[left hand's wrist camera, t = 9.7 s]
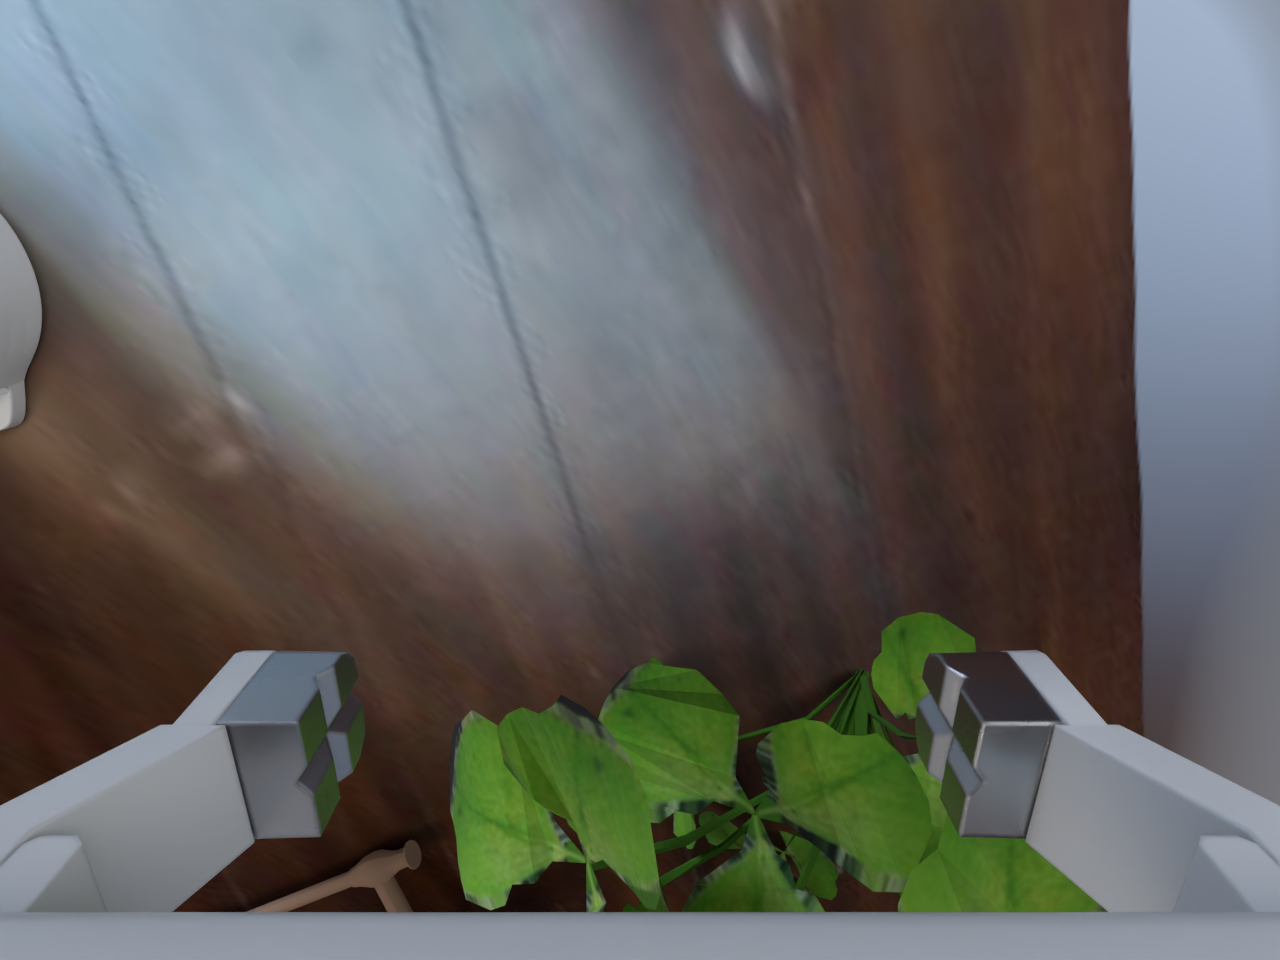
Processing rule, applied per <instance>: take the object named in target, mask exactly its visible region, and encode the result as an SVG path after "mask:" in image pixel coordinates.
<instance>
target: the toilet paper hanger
mask: <svg viewBox="0 0 1280 960" xmlns="http://www.w3.org/2000/svg"><path fill="white" fill-rule="evenodd" d="M420 863H421V851H420V848H419V845H418V844H417V843H416V842H415V841H414V840H409V841H407V842H406V843H405V846H404V848H401V849H399V850H384V849H381V850H377V851H374V852H372V853H370V854H368V855H367V856H365V857H364V858H362V859H361V860H360V862H359V863H358V864H357V865H355V866H354V867H353V868H351V869H350V870H349V871H348V872H346V873H343V874H341V875H338V876H336V877H333V878H331V879H328V880H326V881H323V882H321V883H318V884H315V885H313V886H310V887H308V888H305V889H303V890H300V891H298V892H295V893H293V894H290V895H288V896H285V897H283V898H280V899H278V900H275V901H272V902H270V903H267V904H265V905H262V906H260V907H257V908H255V909H252V910H250V911H247V912H288V911H290V910H293V909H295V908H298V907H301V906H303V905H306V904H308V903H311V902H313V901H316V900H318V899H321V898H324V897H326V896H329V895H331V894H334V893H336V892H339V891H342V890H344V889H347V888H349V887H370V888H373V887H375V889H376V891H377V893H378V895H379V897H380V899H381V901H382V902H383V904H384V906H385V908H386V910H387V912H413V911H412V909H411V907H410V905H409V903H408V901H407V899H406V897H405V896H404V894H403V892H402V890H401V888H400V886H399V884H398V883H397V881H396V879H395V877H394V875H395V874H396V873H397V872H398V871H399V870H401V869H403V868H406V867H409V868H410V869H416V868H418V867H419V866H420Z"/></svg>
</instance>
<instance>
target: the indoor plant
mask: <svg viewBox="0 0 1280 960" xmlns="http://www.w3.org/2000/svg"><path fill="white" fill-rule="evenodd" d="M968 652H976V646H975V638H973V637H972V636H970V635H969V634H967V633H966V632H964V631H963V630H961V629H960V628H958V627H957V626H955V625H954V624H952V623H951V622H949V621H947V620H946V619H944V618H943V617H941V616H940V615H938V614H932V613H925V612H919V613H915V614H911V615H907V616H903V617H899V618H897V619H896V620H895V621H894V622H892V623H891V624H890V625H889V626H888V627H886V628H885V629H884V630H883V631H882V652H881V653H880V654H879V655H878V657H877V658H876V659H875V660H874V661H873V667H872V673H871V675H872V682H873V688H874V689H875V691H876V692H877V694H878V695H879V696H880V698H881V699H882V700H883V702H884V703H885V704H886V706H887V707H888V708H889V710H890V711H891V712H892V714H893V715H894V716H895V718H896V719H898V718H899V717H900V716H902V715H903V714H904V713H905V712H906V714H907V716H908V719H909V720H910V719H913V718H916V711H917V704H918V703H919V702H920V701H921V700H922V699H923V698H924V697H925V696H926V695H927V694H928V693H929V692H930V691H929V689H928V688H927V686H926V684H925V682H924V681H923V679H922V674H923V669H924V663H925V661H926V659H927V657H928V655H929V653H968ZM849 687H850V688H849ZM847 688H849V690H848V692H847V694H846V695H845V697H844V699H843V700H842V702H841V703H840V705H839V707H838V708H837V710H836V711H835V713H834V715H833V716H832V718H831V719H830V721H829V723H828V724H825V723H824V722H820V721H812V720H810V719H812V718H813V717H814V716H815V715H816V714H818V713H819V712H820V711H821V710H822V709H824V708H825V707H826V706H827V705H828V704H830V703H831V702H832V701H833V700H834V699H835V698H837V697H838V696H839V695H840V694H841V693H843V692H844V691H845V690H846V689H847ZM877 713H878V715H877ZM870 716H871V718H870ZM739 717H740V716H739V715H738V713H737V712H736V711H735V710H734V708H733V707H732V706H731V704H730V703H729V702H728V701H727V699H726V698H725V697H724V695H723V694H722V693H721V692H720V691H719V690H718V689H717V688H715V687H714V686H713V685H712V684H711V683H710V682H709V681H708V680H707V679H706V678H705V677H704V676H703V675H702V674H701V673H700V672H699V671H697V670H694V669H686V668H679V667H671V666H664V665H663V664H662V662H661V661H660V660H657V659H655V658H653V657H651V659H650V661H649V663H645V664H643V665H641V666H639V667H636V668H634V669H632V670H630V671H628V672H627V673H626V674H625V675H624V676H623V677H622V678H621V679H620V680H619V681H618V682H617V684H616V685H615V686H614V687H613V688H612V690H611V692H610V694H609V695H608V697H607V699H606V700H605V702H604V704H603V707H602V710H601V713H600V716H599V719H597V718H595V717H594V716H593V715H592V714H591V713H590V712H589V711H587V710H586V709H585V708H584V707H582V706H580V705H578V704H577V703H575V702H573V701H571V700H569V699H568V698H566V697H564V696H562V695H561V696H560V697H559V698H558V700H557V701H556V702H555V704H554V705H553V706H551V707H550V708H548V709H546V710H545V711H543V712H541V713H540V714H538V713H535V712H533V711H530V710H528V709H526V708H523V707H521V708H519V709H517V710H515V711H512V712H510V713H508V714H507V715H506V716H505V718H504V719H503V720H502V722H501V723H500V724H499V725H498V726H497V725H495V724H494V723H492V722H491V721H489V720H487V719H486V718H484V717H483V716H481V715H479V714H478V713H476V712H475V711H473V710H472V711H471V712H470V713H469V714H467V715H466V716H465V717H464V718H463V719H462V720H461V721H460V722H459V723H458V724H457V725H456V726H455V729H454V734H453V738H452V743H451V757H450V812H451V816H452V819H453V823H454V829H455V834H456V839H457V855H458V864H459V870H460V876H461V882H462V886H463V890H464V893H465V897H466V900H468V901H470V902H473V903H475V904H477V905H480V906H482V907H484V908H487V909H489V910H493V909H496V908H499V907H502V906H504V905H505V904H506V901H507V898H508V895H509V892H510V890H511V887H512V885H514V884H533V883H535V882H536V881H537V880H538V878H539V877H540V876H541V875H542V873H543V872H544V871H545V870H546V868H547V867H548V866H549V865H550V863H551V862H552V861H558V862H577V863H586V890H587V912H603V909H604V907H605V904H606V901H605V899H604V896H603V894H602V891H601V889H600V886H599V884H598V881H597V879H596V876H595V874H594V871H595V870H598V869H602V868H606V867H610V868H611V869H612V870H613V871H614V872H615V873H616V874H617V875H618V876H619V877H620V878H621V879H622V880H623V881H624V882H625V883H626V884H627V885H628V886H629V887H630V888H631V889H632V891H633V892H634V893H635V894H636V895H637V897H638V898H639V899H640V901H641V902H640V904H639V906H638V908H637V909H636V908H635V907H633V906H632V905H630V904H629V903H628V904H627V905H626V906H625V907H624V908H623V912H669V909H668V905H667V902H666V899H665V896H664V893H663V889H662V886H664V885H666V884H668V883H670V882H671V881H673V880H675V879H676V878H678V877H680V876H682V875H683V874H685V873H687V872H689V871H690V870H692V869H694V868H695V867H697V866H699V865H701V864H702V863H704V862H706V861H708V860H709V859H711V858H713V857H714V856H716V855H718V854H720V853H721V852H723V851H725V850H727V849H742V850H741V851H740V852H738V853H737V854H735V855H734V856H733V857H731V858H730V859H729V860H727V861H726V862H725V863H723V864H722V865H721V866H719V867H718V868H716V869H715V870H714V871H712V872H711V873H710V874H708V875H707V876H706V877H704V878H703V879H702V880H700V881H699V882H697V883H696V884H695V886H694V888H693V890H692V892H691V894H690V896H689V898H688V900H687V902H686V904H685V906H684V908H683V910H682V912H825V911H824V909H823V908H822V906H821V904H820V903H819V901H818V899H817V897H821V898H824V899H828V900H832V899H833V898H834V897H835V896H836V894H837V887H836V884H835V881H836V879H837V878H838V876H839V873H838V871H837V869H836V867H835V865H834V863H833V861H834V862H835V863H836V864H838V865H839V866H840V867H841V868H842V869H844V870H845V871H846V872H847V873H849V874H850V875H851V876H853V877H854V878H855V879H857V880H858V881H860V882H861V883H862V884H864V885H865V886H866V887H868V888H869V889H871V890H872V891H873V892H899V894H900V901H899V904H898V912H1108V911H1106V910H1105V909H1104V908H1103V907H1102V906H1101V905H1099V904H1098V903H1097V902H1096V901H1095V900H1093V899H1092V898H1091V897H1090V896H1089V895H1088V894H1086V893H1085V892H1084V891H1083V890H1082V889H1080V888H1079V887H1078V886H1077V885H1076V884H1074V883H1073V882H1072V881H1071V880H1070V879H1069V878H1067V877H1066V876H1065V875H1064V874H1063V873H1061V872H1060V871H1059V870H1058V869H1057V868H1056V867H1054V866H1053V865H1052V864H1051V863H1050V862H1048V861H1047V860H1046V859H1045V858H1044V857H1043V856H1041V855H1040V854H1039V853H1038V852H1037V851H1035V850H1034V849H1033V848H1032V847H1031V846H1029V845H1028V844H1027V843H1026V842H1025V840H1026V839H1016V838H980V837H959V835H958V833H957V831H956V829H955V827H954V825H953V823H952V821H951V819H950V817H949V815H948V813H947V811H946V809H945V807H944V805H943V803H942V801H941V799H940V792H941V787H942V782H940V781H939V780H938V779H936V778H935V777H933V776H932V775H930V774H929V773H928V772H927V771H926V768H925V766H924V764H923V762H922V760H921V757H920V754H919V752H918V753H917V754H912V755H907V756H901V754H900V753H899V752H898V751H897V750H896V749H895V747H894V745H893V743H892V741H891V738H890V736H889V733H888V731H887V729H886V728H888V729H889V730H891V731H892V732H894V733H895V734H897V735H898V736H900V737H903V738H908V739H916V735H913V734H908V733H904V732H902V731H901V730H899V729H898V728H896V727H895V726H893V725H892V724H891V723H889V722H888V721H886V720H885V719H883V718H882V716H881V714H880V712H879V709H878V707H877V704H876V702H875V700H874V697H873V695H872V692H871V688H870V684H869V672H865V670H863V668H862V669H861V670H860V669H858V671H855V675H854V676H853V677H851V678H850V679H849V680H848V681H847V682H846V683H845V684H843V685H842V686H841V687H840V688H839V689H838V690H836V691H835V692H834V693H833V694H832V695H831V696H830V697H828V698H827V699H826V700H825V701H824V702H823V703H821V704H820V705H819V706H818V707H817V708H816V709H815V710H813V711H812V712H811V713H810V714H809V715H808V716H806V717H803V718H799V719H796V720H792V721H789V722H785V723H780V724H778V725H775V726H771V727H768V728H765V729H761V730H758V731H754V732H751V733H747V734H744V735H740V736H738V732H739ZM871 719H872V724H873V729H874V734H872V726H871ZM880 723H881V724H882V726H883V729H884V732H885V734H886V737H887V740H888V742H889V743H888V742H887V740H886V738H885V736H884V734H883V732H882V730H881V727H880ZM769 732H770V733H769ZM766 733H769V734H768V735H767V736H766V737H765V738H764V739H763V740H762V741H760V742H759V743H758V745H757V750H756V756H757V758H758V761H759V763H760V765H761V767H762V769H763V771H764V773H765V775H764V776H763V777H761V778H760V780H761V781H762V782H763V783H764V784H765V785H766V786H767V787H768V788H769V790H768V791H766V792H764V793H762V794H760V795H758V796H756V797H755V798H753V799H751V800H748V798H747V796H746V795H745V793H744V791H743V790H742V788H741V786H740V784H739V783H738V781H737V779H736V763H737V747H738V742H739V741H743V740H746V739H749V738H753V737H756V736H759V735H763V734H766ZM854 734H855V735H854ZM713 801H714V802H717V803H720V804H723V805H726V806H729V807H732V808H734V809H732V810H730V811H728V812H727V813H725V814H723V815H721V816H718V815H717V814H715V813H714V812H710V811H704V812H702V813H701V814H700V815H699V823H700V825H701V827H699V828H697V829H696V825H695V818H694V815H695V814H697V813H698V812H700V811H701V810H702V809H704V808H705V807H707V806H708V805H709V804H711V803H712V802H713ZM760 803H761V804H760ZM759 804H760V805H759ZM757 805H759V806H758V808H757V809H756V810H754V809H753V807H755V806H757ZM745 812H747V813H750V814H752V817H751V818H750V819H749V820H748V821H747V822H746V823H744V824H743V825H742V826H741V827H740V828H737V827H736V826H735V825H734V824H732V823H731V822H729V821H731V820H732V819H734V818H736V817H738V816H739V815H741V814H743V813H745ZM552 813H554V814H556V815H558V816H561V817H563V818H565V819H567V822H568V824H569V826H570V827H571V828H572V829H573V830H574V831H575V832H576V833H577V834H578V837H579V840H580V843H581V846H582V850H583V853H584V856H585V857H584V856H583V854H582V853H581V852H580V851H579V850H578V848H577V847H576V846H575V845H574V844H573V842H572V841H571V840H570V839H569V838H568V836H567V835H566V834H565V833H564V832H563V830H562V829H561V828H560V827H559V826H558V824H557V823H556V822H555V819H554V816H553V814H552ZM672 813H674V834H675V835H676V836H677V837H675V838H672V839H668V840H664V841H661V842H657V843H653V836H652V830H651V823H661V822H662V821H663V820H664V819H666V818H667V817H668V816H670V815H671V814H672ZM761 818H762V819H766V820H771V821H775V822H779V823H783V824H788V825H790V826H791V827H793V828H794V829H795V830H796V831H795V833H794V835H792V834H790V833H787V832H783V831H780V829H779V832H780V834H781V837H782V839H783V841H784V843H785V845H786V848H787V849H785V850H784V852H783V851H781V850H780V849H778V848H777V847H776V846H774V845H773V844H772V843H771V841H770V838H769V836H768V834H767V832H766V830H765V828H764V826H763V824H762V822H761ZM747 830H748V831H747ZM746 831H747V834H746V835H745V834H744V833H745V832H746ZM798 832H799V833H800V834H801V835H802V836H803V837H805V838H806V839H807V840H806V839H803V838H800V837H798V836H796V835H797V834H798ZM703 836H706V838H707V840H708V842H709V843H710V844H713V845H716V846H715V847H713V848H711V849H709V850H708V851H706V852H704V853H702V854H700V855H699V856H697V857H695V858H693V859H691V860H690V861H688V862H686V863H684V864H682V865H681V866H679V867H677V868H675V869H673V870H671V871H670V872H668V873H666V874H664V875H662V876H661V877H659V876H658V870H657V863H656V856H655V854H659V853H663V852H667V851H670V850H674V849H678V848H682V847H685V846H686V848H687V849H693V847H694V844H695V842H696V840H698V839H699V838H701V837H703ZM775 850H776V851H780V852H783V853H781V854H780V855H778V854H777V853H776V851H775ZM785 854H787V855H789V856H790V857H792V859H793V861H794V863H795V865H796V867H797V869H798V871H799V873H800V876H799V879H797V878H796V877H795V876H794V874H793V873H792V872H791V867H790V864H788V863H787V859H786V856H785ZM832 860H833V861H832ZM591 864H592V865H591ZM661 884H662V886H661ZM805 886H806V887H807V889H808V891H809V893H810V894H809V893H808V892H807V890H806V889H805ZM816 896H817V897H816Z"/></svg>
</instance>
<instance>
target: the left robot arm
mask: <svg viewBox="0 0 1280 960" xmlns="http://www.w3.org/2000/svg"><path fill="white" fill-rule="evenodd" d="M41 327H42V305H41V297H40V291H39V287H38V283H37V279H36V276H35V273H34V270H33V267H32V265H31V262H30V260H29V258H28V256H27V253H26V252H25V250H24V248H23V246H22V244H21V242H20V240H19V239H18V237H17V235H16V234H15V232H14V231H13V229H12V228H11V226H10V225H9V224H8V222H7V221H6V220H5V218H4V217H3V216H2V215H1V213H0V430H4V429H9V428H13V427H16V426H18V425H20V424H21V423H22V422H23V420H24V417H25V411H26V397H25V383H24V380H25V376H26V372H27V370H28V367H29V365H30V363H31V361H32V359H33V356H34V354H35V352H36V349H37V346H38V343H39V339H40V334H41ZM357 679H358V675H357V670H356V665H355V660H354V657H352V656H351V655H350V654H349V653H348V652H317V651H278V652H277V651H242V652H239V653H236V654H234V655H233V656H232V658H231V659H230V660H229V661H228V662H227V663H226V664H225V666H224V667H223V668H222V669H221V670H220V671H219V672H218V674H217V675H216V676H215V677H214V678H213V679H212V680H211V682H210V683H209V684H208V685H207V686H206V687H205V688H204V689H203V691H202V692H201V693H200V694H199V695H198V696H197V697H196V699H195V700H194V701H193V702H192V703H191V704H190V705H189V707H188V708H187V709H186V710H185V711H184V712H183V713H182V714H181V716H180V717H179V718H178V719H177V720H176V721H175V722H174V724H173V725H160V726H158V727H156V728H154V729H152V730H150V731H148V732H146V733H144V734H142V735H140V736H138V737H136V738H134V739H132V740H130V741H128V742H126V743H124V744H122V745H120V746H118V747H116V748H114V749H112V750H110V751H108V752H106V753H104V754H102V755H100V756H98V757H96V758H94V759H92V760H90V761H88V762H86V763H84V764H82V765H80V766H78V767H76V768H74V769H72V770H70V771H68V772H66V773H64V774H62V775H60V776H58V777H56V778H54V779H52V780H50V781H48V782H46V783H44V784H42V785H40V786H38V787H36V788H34V789H32V790H30V791H29V792H27V793H25V794H23V795H21V796H19V797H17V798H15V799H13V800H11V801H9V802H7V803H5V804H3V805H1V806H0V960H1280V806H1279V805H1277V804H1275V803H1273V802H1271V801H1269V800H1267V799H1265V798H1263V797H1261V796H1259V795H1257V794H1255V793H1253V792H1251V791H1249V790H1247V789H1245V788H1243V787H1241V786H1239V785H1237V784H1235V783H1233V782H1231V781H1229V780H1227V779H1225V778H1223V777H1221V776H1219V775H1217V774H1215V773H1213V772H1212V771H1209V770H1208V769H1206V768H1204V767H1202V766H1200V765H1198V764H1196V763H1194V762H1192V761H1190V760H1188V759H1186V758H1184V757H1182V756H1180V755H1178V754H1176V753H1174V752H1172V751H1170V750H1168V749H1166V748H1164V747H1162V746H1160V745H1158V744H1156V743H1154V742H1152V741H1150V740H1148V739H1146V738H1144V737H1142V736H1140V735H1138V734H1136V733H1134V732H1132V731H1130V730H1128V729H1126V728H1124V727H1122V726H1120V725H1107V724H1106V722H1105V721H1104V720H1103V719H1102V718H1101V717H1100V716H1099V715H1098V713H1097V712H1096V711H1095V710H1094V709H1093V708H1092V707H1091V705H1090V704H1089V703H1088V702H1087V701H1086V700H1085V699H1084V697H1083V696H1082V695H1081V694H1080V693H1079V692H1078V691H1077V689H1076V688H1075V687H1074V686H1073V685H1072V684H1071V683H1070V682H1069V680H1068V679H1067V678H1066V677H1065V676H1064V675H1063V674H1062V672H1061V671H1060V670H1059V669H1058V668H1057V667H1056V666H1055V664H1054V663H1053V662H1052V661H1051V660H1050V659H1049V658H1048V657H1047V655H1046V654H1044V653H1042V652H1040V651H1038V650H1024V651H1001V652H968V653H929V655H928V657H927V659H926V661H925V663H924V669H923V674H922V679H923V681H924V682H925V684H926V686H927V688H928V689H929V691H930V692H929V693H928V694H927V695H926V696H925V697H924V698H923V699H922V700H921V701H920V702H919V703H918V704H917V711H916V719H915V731H916V743H917V747H918V750H919V754H920V757H921V760H922V762H923V764H924V766H925V768H926V771H927V772H928V773H929V774H930V775H932V776H933V777H935V778H936V779H938V780H939V781H940V782H942V787H941V792H940V799H941V801H942V803H943V805H944V807H945V809H946V811H947V813H948V815H949V817H950V819H951V821H952V823H953V825H954V827H955V829H956V831H957V833H958V835H959V837H980V838H1016V839H1026V840H1025V842H1026V843H1027V844H1028V845H1029V846H1031V847H1032V848H1033V849H1034V850H1035V851H1037V852H1038V853H1039V854H1040V855H1041V856H1043V857H1044V858H1045V859H1046V860H1047V861H1048V862H1050V863H1051V864H1052V865H1053V866H1054V867H1056V868H1057V869H1058V870H1059V871H1060V872H1061V873H1063V874H1064V875H1065V876H1066V877H1067V878H1069V879H1070V880H1071V881H1072V882H1073V883H1074V884H1076V885H1077V886H1078V887H1079V888H1080V889H1082V890H1083V891H1084V892H1085V893H1086V894H1088V895H1089V896H1090V897H1091V898H1092V899H1093V900H1095V901H1096V902H1097V903H1098V904H1099V905H1101V906H1102V907H1103V908H1104V909H1105V910H1106V911H1108V912H173V911H174V910H175V909H176V908H177V907H178V906H180V905H181V904H182V903H183V902H184V901H186V900H187V899H188V898H189V897H190V896H192V895H193V894H194V893H195V892H196V891H197V890H199V889H200V888H201V887H202V886H203V885H205V884H206V883H207V882H208V881H209V880H211V879H212V878H213V877H214V876H215V875H216V874H218V873H219V872H220V871H221V870H222V869H224V868H225V867H226V866H227V865H228V864H230V863H231V862H232V861H233V860H234V859H235V858H237V857H238V856H239V855H240V854H241V853H243V852H244V851H245V850H246V849H247V848H249V847H250V846H251V845H252V844H253V843H254V842H255V841H254V839H264V838H298V837H321V835H322V833H323V831H324V829H325V827H326V825H327V823H328V821H329V819H330V817H331V815H332V813H333V811H334V809H335V807H336V805H337V803H338V801H339V799H340V792H339V787H338V782H340V781H341V780H342V779H344V778H345V777H347V776H348V775H350V774H351V773H352V772H353V771H354V768H355V766H356V764H357V762H358V760H359V758H360V755H361V750H362V745H363V741H364V736H365V717H364V710H363V704H362V703H361V702H360V701H359V700H358V699H357V698H356V697H355V696H354V695H353V694H352V693H351V692H350V691H351V689H352V688H353V686H354V684H355V682H356V681H357Z"/></svg>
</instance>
